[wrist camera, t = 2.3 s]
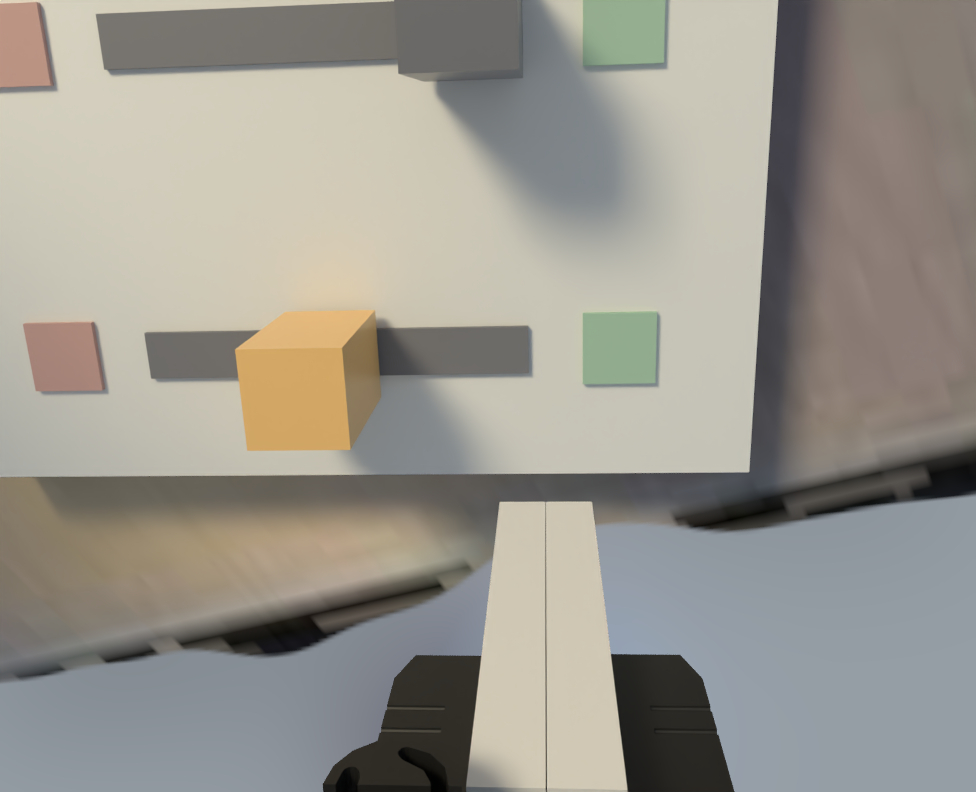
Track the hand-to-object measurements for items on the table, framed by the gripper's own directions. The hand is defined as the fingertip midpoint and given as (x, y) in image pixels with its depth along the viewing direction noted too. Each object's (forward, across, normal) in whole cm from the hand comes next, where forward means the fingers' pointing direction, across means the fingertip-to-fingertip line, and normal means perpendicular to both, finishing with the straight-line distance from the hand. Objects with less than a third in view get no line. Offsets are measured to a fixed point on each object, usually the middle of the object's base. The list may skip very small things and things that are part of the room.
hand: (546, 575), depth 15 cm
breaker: (+15, -2, +10) cm, 18 cm away
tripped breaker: (+15, -7, 0) cm, 17 cm away
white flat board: (+18, -7, +5) cm, 20 cm away
